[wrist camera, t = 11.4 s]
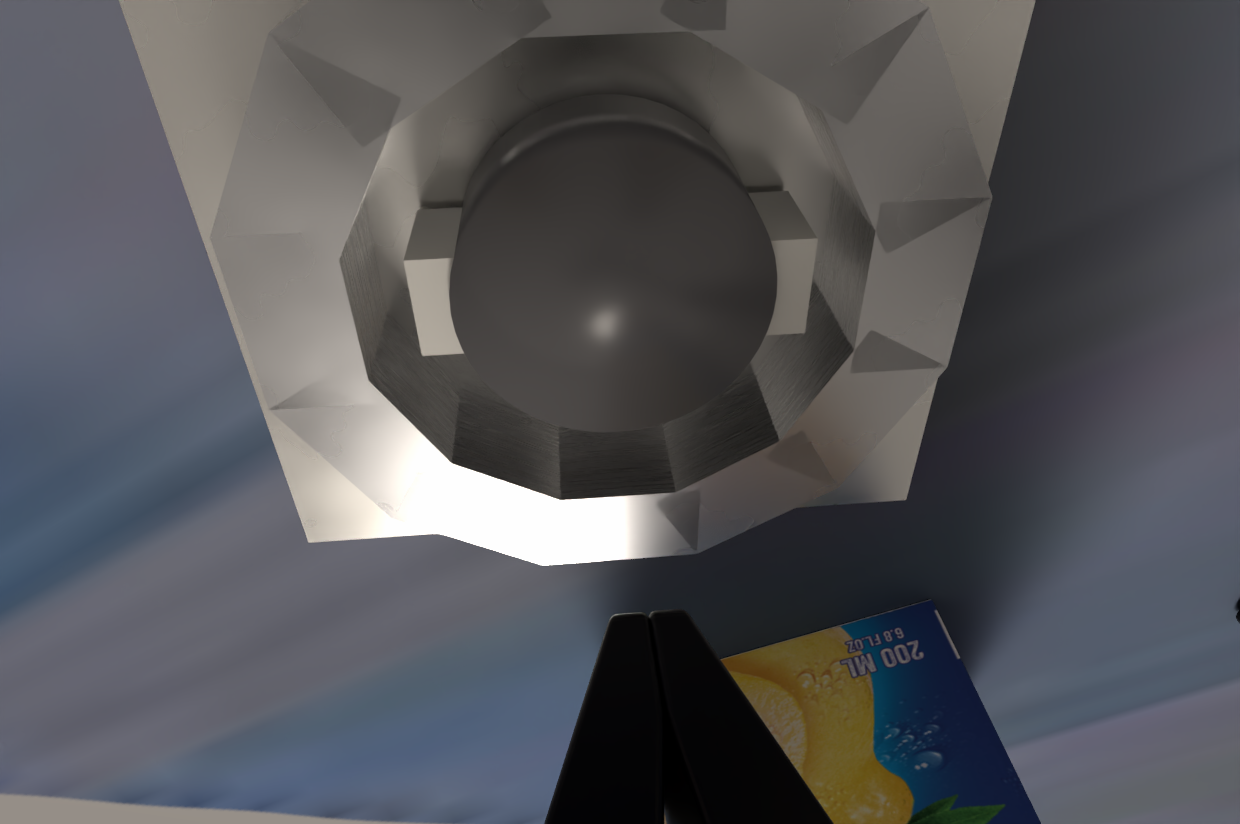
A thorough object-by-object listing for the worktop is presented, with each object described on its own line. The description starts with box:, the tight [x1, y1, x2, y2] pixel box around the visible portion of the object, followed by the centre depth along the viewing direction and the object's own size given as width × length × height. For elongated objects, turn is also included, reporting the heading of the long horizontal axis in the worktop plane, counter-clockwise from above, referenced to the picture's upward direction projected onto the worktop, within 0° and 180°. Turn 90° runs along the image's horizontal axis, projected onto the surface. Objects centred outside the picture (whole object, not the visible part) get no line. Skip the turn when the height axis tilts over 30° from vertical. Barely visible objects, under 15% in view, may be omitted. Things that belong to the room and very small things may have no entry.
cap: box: [403, 94, 818, 432], centre depth 16 cm, size 6×7×3 cm
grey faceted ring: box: [119, 0, 1036, 565], centre depth 17 cm, size 16×16×3 cm
